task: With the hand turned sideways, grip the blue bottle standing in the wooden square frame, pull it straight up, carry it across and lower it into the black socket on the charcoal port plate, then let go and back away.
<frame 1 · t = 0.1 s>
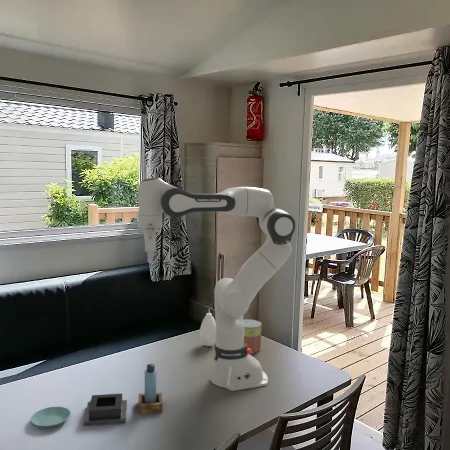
hand: (149, 260, 168), 48 cm above the table, tool pointing down, fingers open, 8 cm apart
saucer: (51, 422, 147), on the table
sauce bottle: (208, 346, 213), on the table
wooden square frame: (150, 407, 158), on the table
port: (106, 414, 152), on the table
blue bottle: (150, 386, 157), in the wooden square frame
canned food: (248, 348, 212), on the table
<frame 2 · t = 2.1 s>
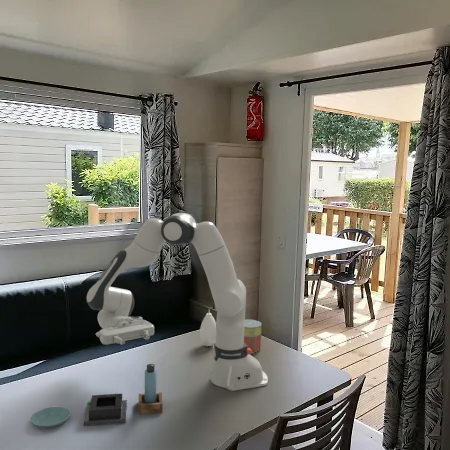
hand: (135, 339, 165), 20 cm above the table, tool horizontal, fingers open, 8 cm apart
nothing on the table moved.
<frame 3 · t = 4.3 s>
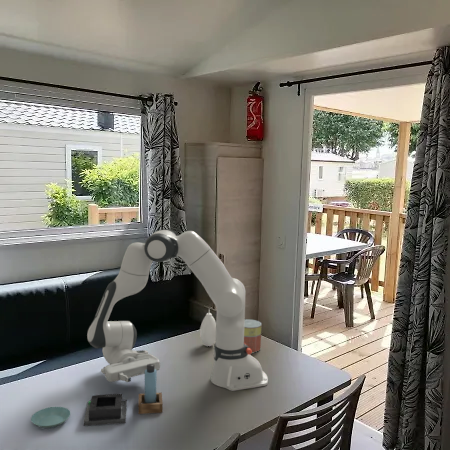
hand: (141, 376, 163), 8 cm above the table, tool horizontal, fingers open, 8 cm apart
nothing on the table moved.
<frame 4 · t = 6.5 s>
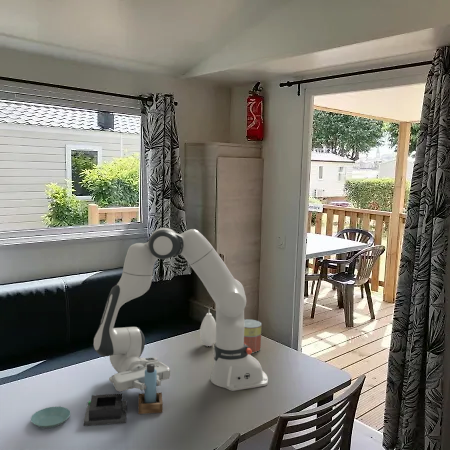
hand: (151, 385, 156), 8 cm above the table, tool horizontal, fingers closed on blue bottle, 4 cm apart
blue bottle: (150, 386, 157), in the wooden square frame, touching gripper
everything else where it was.
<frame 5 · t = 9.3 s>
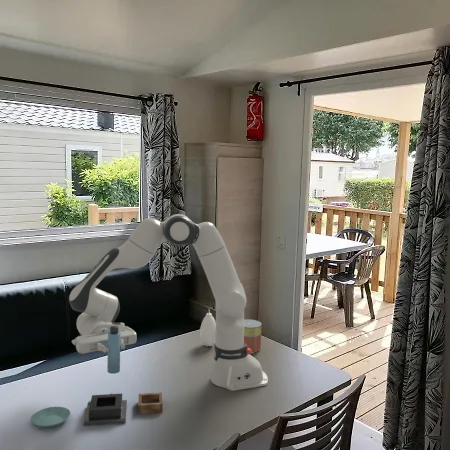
hand: (115, 348, 150), 23 cm above the table, tool horizontal, fingers closed on blue bottle, 4 cm apart
blue bottle: (114, 349, 151), point 22 cm above the table, touching gripper
everything else where it was.
when the fingers open (10 cm above the table, at t = 12.1 s): blue bottle stays where it is, resting on port.
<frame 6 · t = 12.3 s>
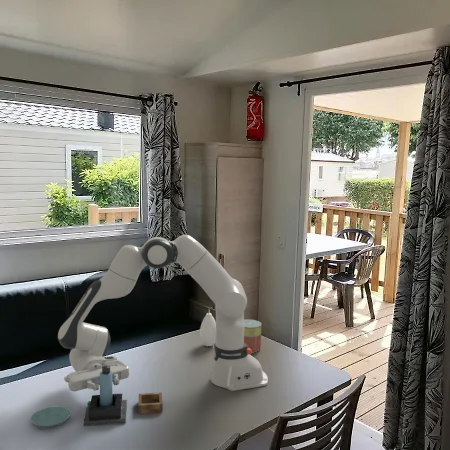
hand: (107, 385, 150), 10 cm above the table, tool horizontal, fingers open, 5 cm apart
blue bottle: (106, 388, 151), in the port, point 9 cm above the table
everything else where it was.
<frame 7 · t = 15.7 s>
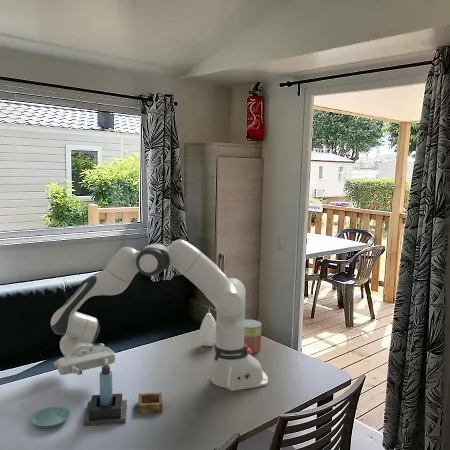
hand: (93, 369, 160), 11 cm above the table, tool horizontal, fingers open, 8 cm apart
nothing on the table moved.
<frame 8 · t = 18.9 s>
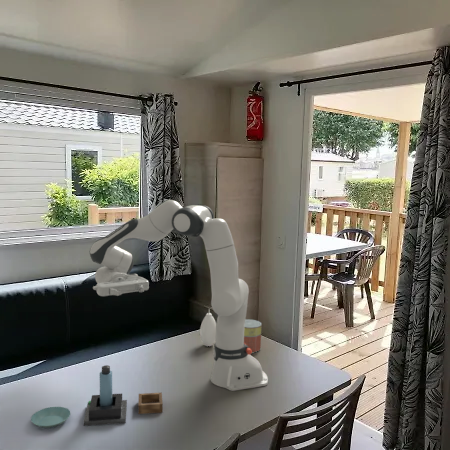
hand: (130, 291, 173), 35 cm above the table, tool horizontal, fingers open, 8 cm apart
nothing on the table moved.
at the end: blue bottle 0.0 cm off-centre on the port, point 9.0 cm above the port's base; blue bottle tilted 0°; the gripper is holding nothing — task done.
